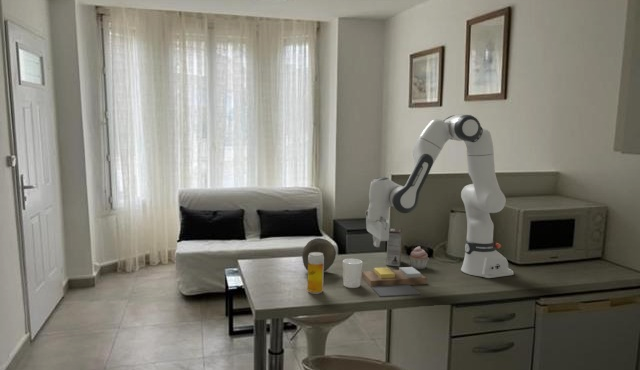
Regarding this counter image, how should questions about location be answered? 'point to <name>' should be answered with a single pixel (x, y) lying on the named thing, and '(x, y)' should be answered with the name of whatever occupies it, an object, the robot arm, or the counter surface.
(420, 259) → the cupcake
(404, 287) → the mat
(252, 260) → the counter surface
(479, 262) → the robot arm
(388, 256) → the coffee box
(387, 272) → the card mustard
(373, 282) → the brown wooden flat block
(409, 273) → the grey flat block
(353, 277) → the white cup
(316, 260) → the pill bottle
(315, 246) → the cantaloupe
